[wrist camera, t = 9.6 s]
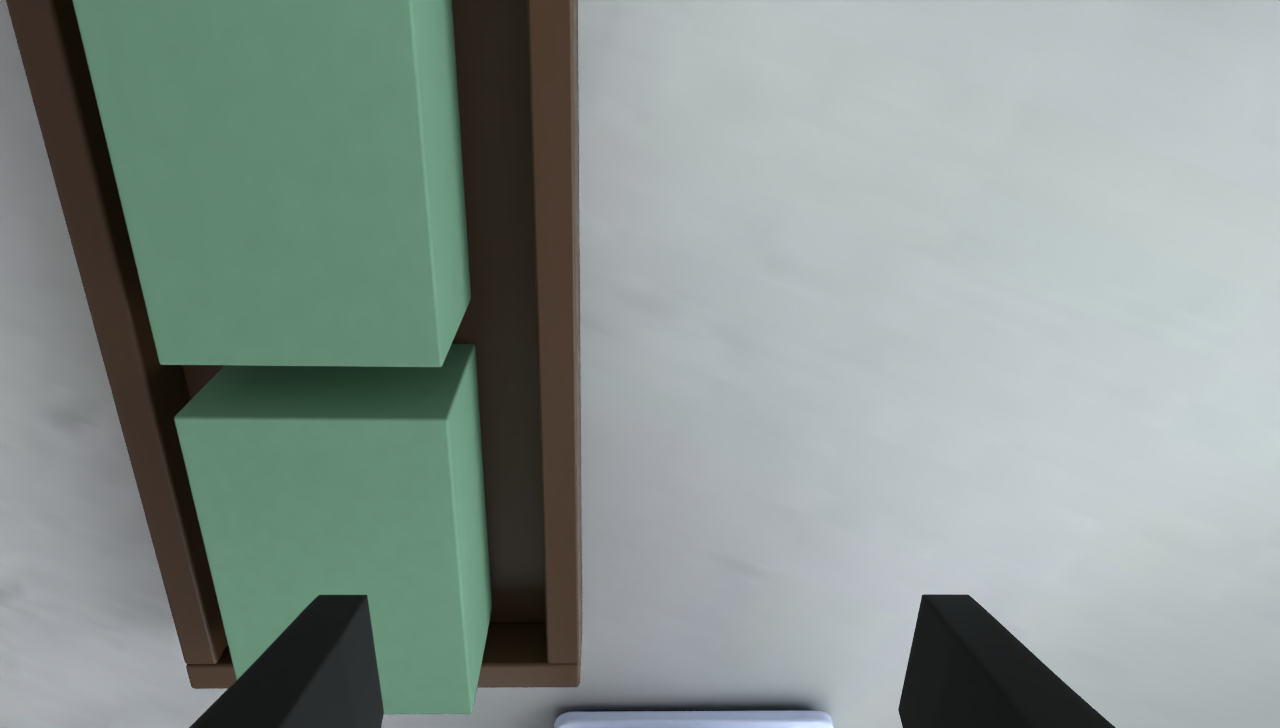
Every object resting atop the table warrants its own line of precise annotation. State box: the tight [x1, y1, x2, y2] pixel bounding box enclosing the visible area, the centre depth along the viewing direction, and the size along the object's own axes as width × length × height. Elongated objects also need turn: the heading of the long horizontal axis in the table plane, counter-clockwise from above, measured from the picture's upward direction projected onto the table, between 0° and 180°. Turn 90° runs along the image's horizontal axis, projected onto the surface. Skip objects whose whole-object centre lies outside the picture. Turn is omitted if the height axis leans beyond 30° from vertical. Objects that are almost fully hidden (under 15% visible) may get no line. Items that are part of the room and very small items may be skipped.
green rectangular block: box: [72, 0, 471, 367], centre depth 15 cm, size 8×5×4 cm, turn 179°
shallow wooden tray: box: [6, 0, 582, 689], centre depth 18 cm, size 19×10×2 cm, turn 179°
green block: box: [174, 344, 492, 714], centre depth 19 cm, size 8×5×4 cm, turn 179°
